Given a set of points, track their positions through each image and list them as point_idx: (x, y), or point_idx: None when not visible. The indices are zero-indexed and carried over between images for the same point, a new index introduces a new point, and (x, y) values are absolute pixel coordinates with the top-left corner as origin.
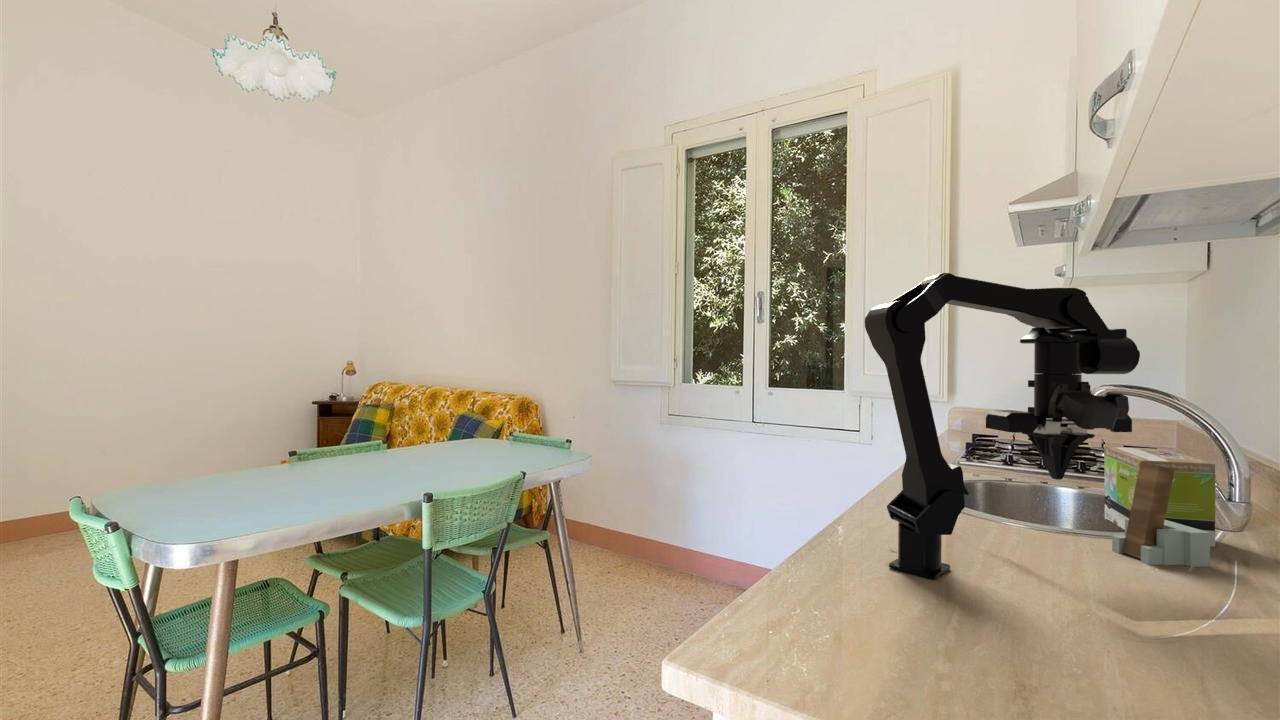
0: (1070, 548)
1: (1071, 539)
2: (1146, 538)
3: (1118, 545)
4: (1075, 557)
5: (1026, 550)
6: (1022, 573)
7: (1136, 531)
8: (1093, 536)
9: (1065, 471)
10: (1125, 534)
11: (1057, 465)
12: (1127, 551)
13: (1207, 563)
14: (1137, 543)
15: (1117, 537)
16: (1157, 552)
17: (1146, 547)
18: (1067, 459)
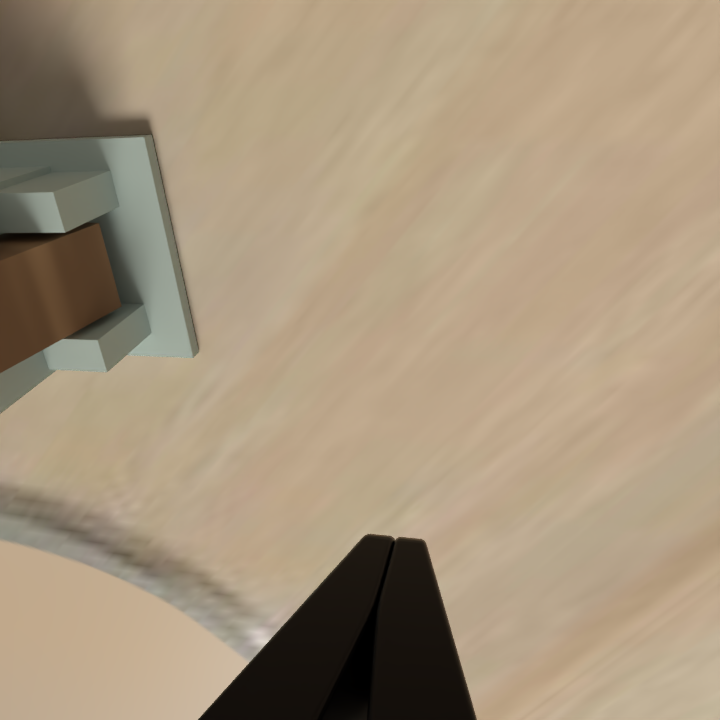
0: (242, 435)
1: (177, 510)
2: (13, 252)
3: (117, 327)
4: (292, 349)
5: (435, 436)
6: (714, 173)
7: (20, 305)
8: (86, 522)
9: (319, 587)
10: (46, 374)
11: (429, 663)
12: (108, 290)
13: None
14: (59, 270)
15: (98, 350)
16: (26, 187)
17: (53, 207)
18: (265, 717)
